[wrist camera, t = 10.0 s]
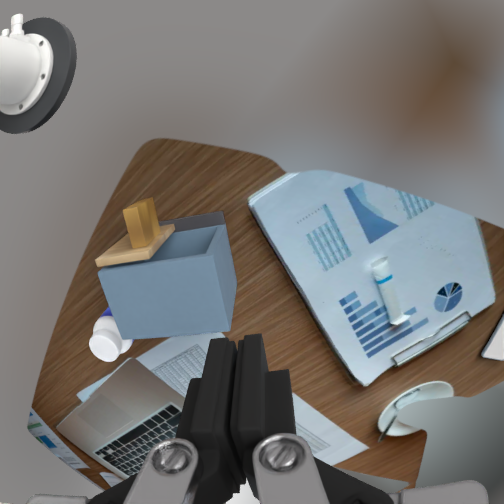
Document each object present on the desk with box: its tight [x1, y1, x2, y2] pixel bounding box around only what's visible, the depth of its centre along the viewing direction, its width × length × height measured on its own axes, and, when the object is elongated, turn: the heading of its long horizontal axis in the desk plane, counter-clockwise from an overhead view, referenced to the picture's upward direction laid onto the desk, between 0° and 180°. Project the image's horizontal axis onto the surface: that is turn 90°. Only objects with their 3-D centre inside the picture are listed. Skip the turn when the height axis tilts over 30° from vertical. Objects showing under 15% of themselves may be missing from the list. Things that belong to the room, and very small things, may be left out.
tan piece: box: [95, 198, 175, 267], centre depth 33 cm, size 5×6×10 cm
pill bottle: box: [89, 307, 134, 362], centre depth 39 cm, size 5×5×10 cm
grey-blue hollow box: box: [98, 211, 237, 340], centre depth 35 cm, size 10×12×11 cm
